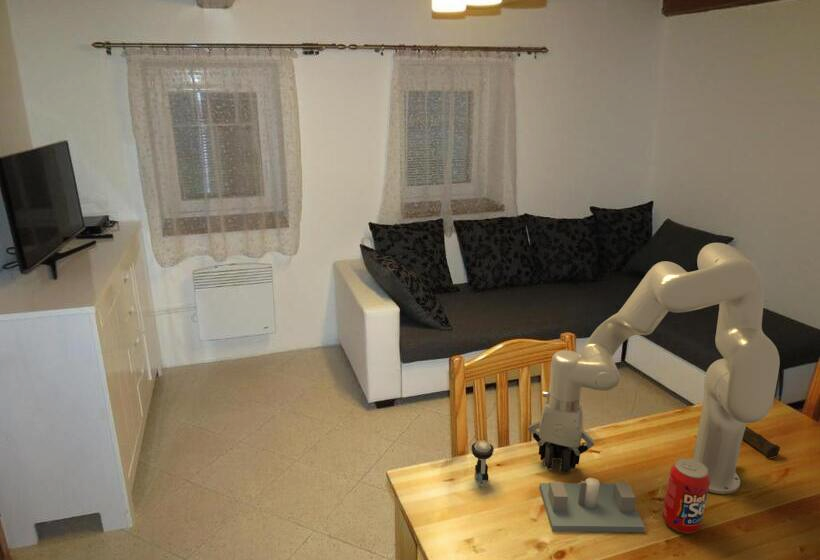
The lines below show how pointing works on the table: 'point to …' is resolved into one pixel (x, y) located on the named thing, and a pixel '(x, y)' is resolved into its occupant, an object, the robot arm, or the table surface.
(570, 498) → the shaft stand
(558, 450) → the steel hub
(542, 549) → the table surface
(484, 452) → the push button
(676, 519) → the soda can
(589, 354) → the robot arm
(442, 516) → the table surface
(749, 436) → the dark brown bar
